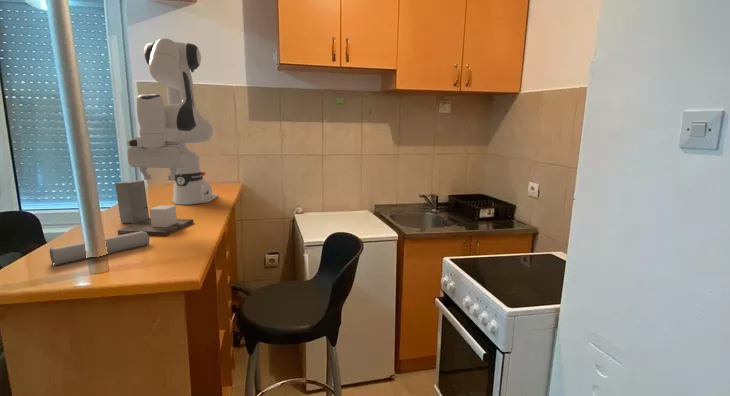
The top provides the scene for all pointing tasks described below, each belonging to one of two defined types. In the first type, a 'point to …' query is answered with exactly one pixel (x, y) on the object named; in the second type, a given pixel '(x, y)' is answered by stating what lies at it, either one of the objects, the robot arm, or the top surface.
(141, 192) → the skincare box
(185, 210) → the top surface
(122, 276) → the top surface
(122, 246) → the tube
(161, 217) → the grey cube
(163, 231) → the peg board
